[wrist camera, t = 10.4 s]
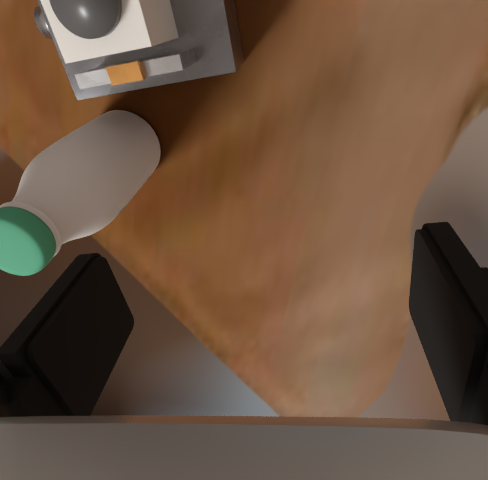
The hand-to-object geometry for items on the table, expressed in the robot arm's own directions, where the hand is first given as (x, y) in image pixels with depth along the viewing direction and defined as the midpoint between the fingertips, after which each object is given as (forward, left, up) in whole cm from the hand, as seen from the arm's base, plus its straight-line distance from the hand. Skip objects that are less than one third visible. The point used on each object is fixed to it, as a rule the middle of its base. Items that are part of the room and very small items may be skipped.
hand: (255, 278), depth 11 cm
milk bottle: (+17, +3, -28) cm, 33 cm away
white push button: (+10, -9, -22) cm, 26 cm away
